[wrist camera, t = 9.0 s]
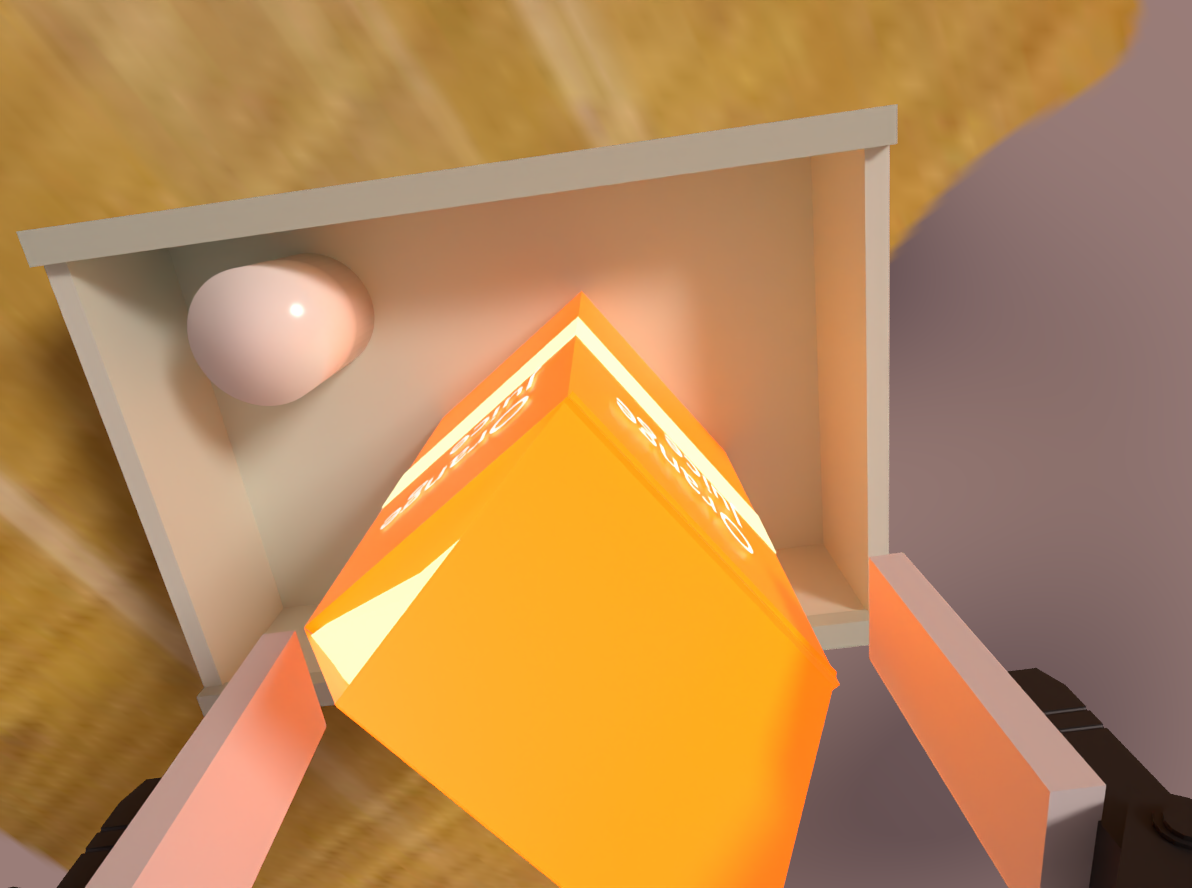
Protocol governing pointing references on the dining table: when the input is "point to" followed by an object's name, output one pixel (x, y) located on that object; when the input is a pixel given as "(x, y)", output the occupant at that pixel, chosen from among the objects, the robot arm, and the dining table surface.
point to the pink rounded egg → (279, 326)
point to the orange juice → (585, 628)
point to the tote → (504, 351)
